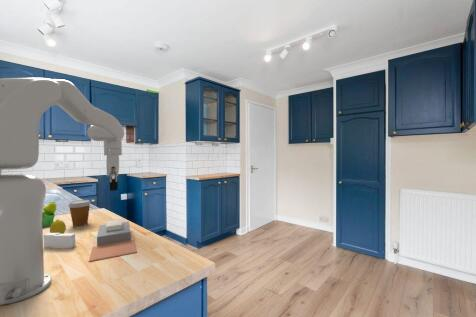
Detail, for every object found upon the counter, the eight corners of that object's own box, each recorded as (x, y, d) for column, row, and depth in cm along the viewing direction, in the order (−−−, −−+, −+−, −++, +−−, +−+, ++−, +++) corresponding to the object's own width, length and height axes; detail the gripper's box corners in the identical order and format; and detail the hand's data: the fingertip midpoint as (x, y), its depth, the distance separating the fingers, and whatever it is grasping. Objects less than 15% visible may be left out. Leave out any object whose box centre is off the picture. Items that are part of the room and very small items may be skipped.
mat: (136, 252, 84) (136, 251, 84) (88, 262, 77) (88, 260, 77) (134, 240, 96) (134, 239, 96) (92, 247, 89) (92, 246, 89)
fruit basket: (34, 223, 120) (33, 202, 120) (55, 219, 126) (55, 199, 126) (35, 228, 112) (35, 206, 111) (58, 224, 118) (57, 203, 118)
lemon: (57, 240, 97) (56, 221, 96) (46, 239, 98) (46, 221, 97) (69, 235, 102) (68, 218, 102) (59, 234, 103) (58, 217, 103)
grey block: (130, 241, 95) (130, 231, 95) (97, 247, 90) (96, 237, 90) (129, 229, 109) (128, 221, 109) (100, 234, 104) (99, 225, 104)
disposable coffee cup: (88, 226, 115) (88, 202, 115) (66, 228, 111) (65, 204, 111) (93, 220, 124) (92, 199, 123) (72, 222, 120) (71, 200, 120)
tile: (122, 229, 99) (122, 224, 99) (106, 231, 96) (106, 226, 96) (121, 223, 107) (121, 219, 106) (107, 225, 104) (107, 221, 104)
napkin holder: (83, 246, 91) (83, 232, 91) (47, 257, 82) (47, 241, 82) (69, 238, 100) (69, 225, 100) (36, 247, 91) (35, 233, 91)
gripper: (104, 152, 115) (105, 187, 115) (102, 152, 99) (103, 192, 100) (121, 152, 118) (122, 186, 119) (122, 152, 103) (123, 191, 104)
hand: (113, 188), depth 109 cm, fingers open, 6 cm apart
